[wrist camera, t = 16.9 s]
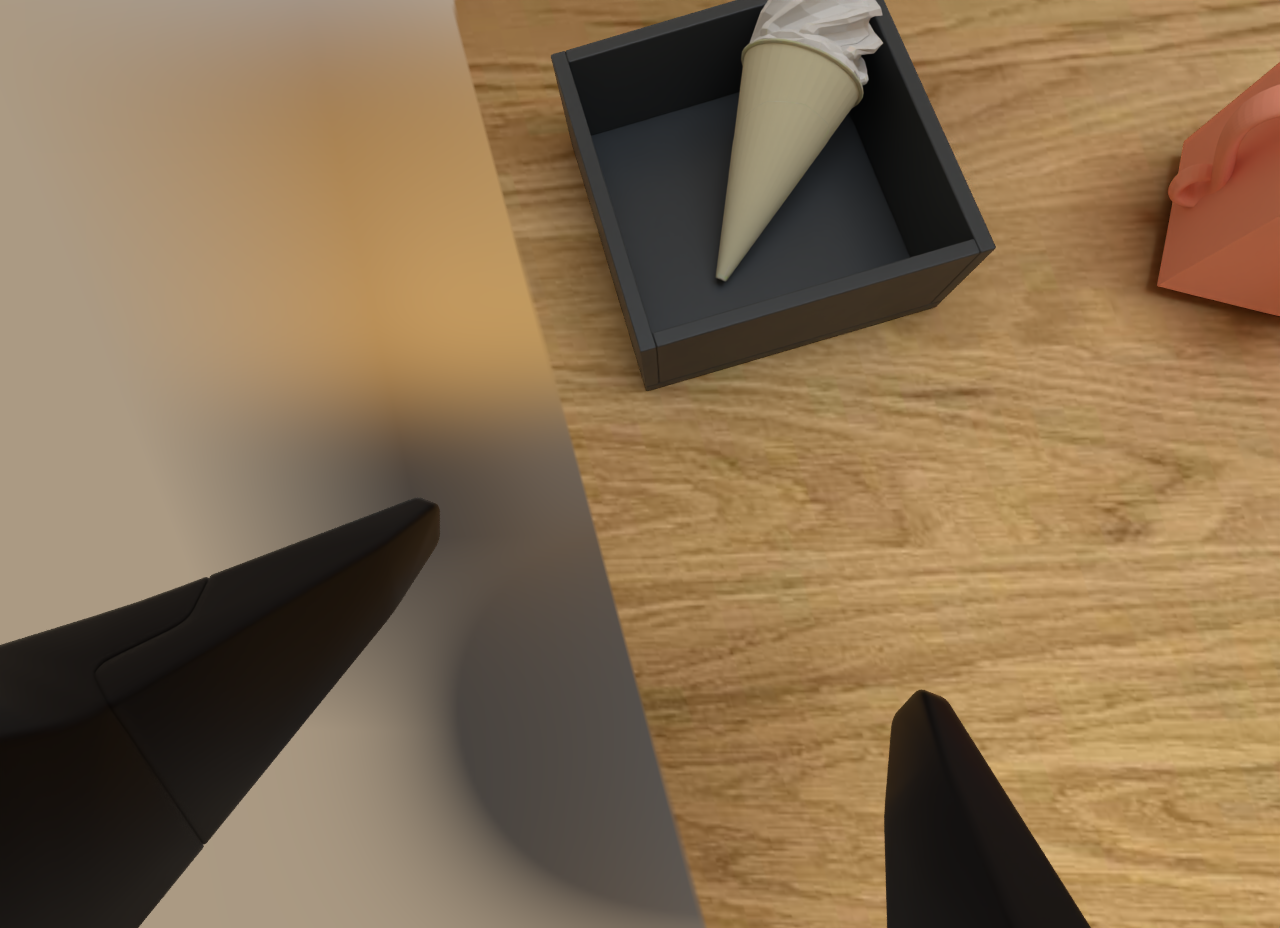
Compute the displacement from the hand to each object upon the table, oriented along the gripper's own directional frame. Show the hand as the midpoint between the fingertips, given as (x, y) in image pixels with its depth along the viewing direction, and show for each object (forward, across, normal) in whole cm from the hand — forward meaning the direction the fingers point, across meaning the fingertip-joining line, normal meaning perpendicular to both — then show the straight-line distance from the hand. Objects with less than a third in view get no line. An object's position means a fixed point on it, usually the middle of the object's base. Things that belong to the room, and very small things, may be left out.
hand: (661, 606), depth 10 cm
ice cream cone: (+18, +2, 0) cm, 18 cm away
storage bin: (+21, +2, -3) cm, 21 cm away
